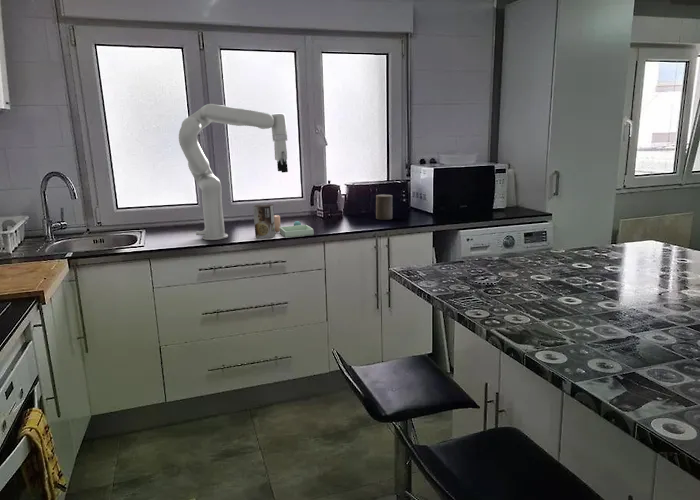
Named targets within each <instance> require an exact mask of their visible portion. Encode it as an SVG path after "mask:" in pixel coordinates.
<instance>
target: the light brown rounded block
mask: <svg viewBox="0 0 700 500" xmlns="http://www.w3.org/2000/svg"><path fill="white" fill-rule="evenodd" d="M274 222H275V233H278V232H279V233H280V228H279V227H282V226H281V215H279V214H274Z"/></svg>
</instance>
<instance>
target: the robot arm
mask: <svg viewBox="0 0 700 500" xmlns="http://www.w3.org/2000/svg"><path fill="white" fill-rule="evenodd" d="M286 119H287V118H286V114H285V113H281V112H280V113H279V112H278V113H272V114H270V113H268V112H262V111H258V110H250V109H244V108H239V107H233V106H227V105H222V104H221V105H220V104H216V103H207V104H205V105H203V106H202V107H200V108H199V109H197V111H195V112H193V113H192V114H190V115H189V116H187V117H186V118H185V119H184V120H183V121H182V122H181V126H180V128H179V132H178V142H179V146H180V149H181V150H182V152H183V154H184V157H185V159H186V160H187V165H188V166H187V167H188V169H189V171H190V173H191V175H192V176H193V179H194V180H195V182H196V184H197V186H198V187H199V189H200V190H201V200H202V201H201V202H202V203H201V204H202V210H203V213H202V214H203V223H204V228H203V230H200V231H199V230H197V231H195V235H196V236H202V239H203V240H205V241H216V240H217V241H218V240H223V239H227V238H229V234H228V233H226V232H225V231H226V230H225V221H224V220H225V219H224V209H223V193H222V191H223V190H222V189H223V188H222V183H221V180H220V179H219V178H218V176H216V175H215V174H214V173H213V170H212V169H211V167H210V165H211V164H210V162H209V159H208V157H206V154H205V153H204V151H203V149H202V147H201V145H200V143H199V140H198V135H199V133H200V132H201V131H202V130H203V129H205V128H206V127H207V126H209V125H210V124H212V123H218V124H223V125H229V126H230V125H231V126H236V127H238V126H239V127H242V126H243V127H244V126H247V127H254V128H255V127H256V128H258V129H262V130H266V129H271V134H272V138H271V139H272V142H273V143H274V145H273V147H274V160H275V161H276V163H277V164H276V165H277V171H278V172H281V173H288V172H289V169H288V162H287V160H288V150H287V141H288V133H287V132H288V129H287V121H286Z"/></svg>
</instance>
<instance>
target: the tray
mask: <svg viewBox="0 0 700 500" xmlns="http://www.w3.org/2000/svg"><path fill="white" fill-rule="evenodd" d="M279 228H280V231H279V233H280V234H281V235H282V236H283V238H284V239H285V238H286V239H287V238H299V237H300V238H301V237H309V236H314V235H315V233H314V232H315V231H314V228H312V227H311V226H309V225H307V224H301V225H298V226H294V225H288V226H281V227H279Z"/></svg>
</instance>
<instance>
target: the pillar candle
mask: <svg viewBox="0 0 700 500" xmlns="http://www.w3.org/2000/svg"><path fill="white" fill-rule="evenodd" d="M375 219H377V220H381V221H386V220H387V221H388V220H389V221H390V220H392V219H393V195H392V194H376V195H375Z"/></svg>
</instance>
